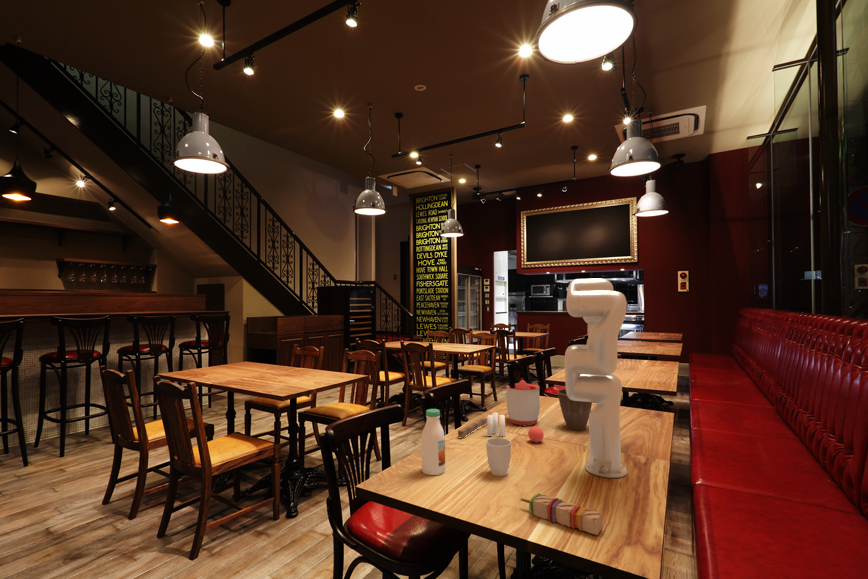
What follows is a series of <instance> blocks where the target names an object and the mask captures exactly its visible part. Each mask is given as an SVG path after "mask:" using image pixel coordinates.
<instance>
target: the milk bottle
mask: <svg viewBox="0 0 868 579" xmlns="http://www.w3.org/2000/svg"><path fill="white" fill-rule="evenodd" d="M425 417H426V421H425V425H424V427H423V429H422V433H421V471H422V473H423V474H425V475H428V476H439V475H442V474H444V473H445V471H446V444H445V443H446V438H445V431H444V429H443V426H442V424H441V420H440V417H441V412H440V409H437V408H429V409H426V410H425Z"/></svg>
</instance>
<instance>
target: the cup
mask: <svg viewBox="0 0 868 579" xmlns="http://www.w3.org/2000/svg"><path fill="white" fill-rule="evenodd" d="M485 446H486V456H487V462H488V467H489V469H490V473H491V475H492V476H497V477H504V476H507V474H508V472H509V469H510V462H511V454H512V452H511V451H512V441H511V440H510V439H508V438H504V437H490V438H489V439H486V441H485Z"/></svg>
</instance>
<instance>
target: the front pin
mask: <svg viewBox="0 0 868 579" xmlns="http://www.w3.org/2000/svg"><path fill="white" fill-rule="evenodd" d="M498 434H499V435H500V436H505V437H506V415H505V414H498ZM499 435H498V436H499ZM500 436H499V437H500Z"/></svg>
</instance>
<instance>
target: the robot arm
mask: <svg viewBox="0 0 868 579" xmlns="http://www.w3.org/2000/svg"><path fill="white" fill-rule="evenodd" d="M566 292H567V293H566V311H567V313H568V314H569V315H570V316H571V317H573V318H582V319H583V320H584V322H585V323H586V324H587V335H588V338H587V340H586V344H572V345H569V346H568V347H567V348H566V350H565V354H564V381H565V382H564V384H565V389H566V393H567V396H568V398H569V399H571V400H574V401H584V402H592V403H596V404H595V405H594V406H593V408H591V411H590V414H589V419H588V437H589V440H588V441H589V461H587V462H585V464H584V467H585V468H584V469H585V470H586V471H587V472H588V473H590V474H592V475H595V476H599V477H602V478H609V479H610V478H611V479H616V478H623V477H625V476H627V473H628V470H627V468H626V467H625V466H624V465H623V464H622V450H621V448H622V447H621V446H622V445H621V441H622V440H621V415H620V414H621V399H622V391H623V390H622V389H623V384H622V381H621V379H620V378H619V377H618V376H617V375H616V374H615V375H614V373H615V372H616V370H617V367H618V348H619V347H618V343H619V342H618V339H619V334H620V330H621V328H622V326H623V324H624V321H625V318H626V313H627V298H626V296H625V294H624V293H622V292H620V291H618V290H617V291H616V290H614V286H613V284H612V282H611V281H610V280H608V279H605V278H601V277H600V278H599V277H598V278H575V279H573V280H571V281H570V282H569V284H568V287H567V291H566Z"/></svg>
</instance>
